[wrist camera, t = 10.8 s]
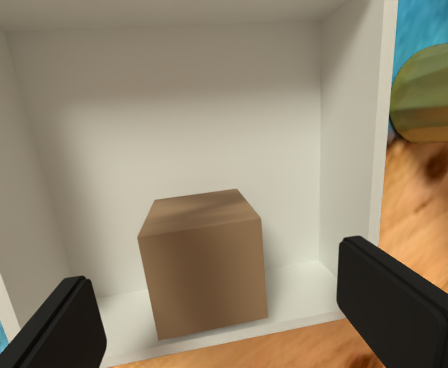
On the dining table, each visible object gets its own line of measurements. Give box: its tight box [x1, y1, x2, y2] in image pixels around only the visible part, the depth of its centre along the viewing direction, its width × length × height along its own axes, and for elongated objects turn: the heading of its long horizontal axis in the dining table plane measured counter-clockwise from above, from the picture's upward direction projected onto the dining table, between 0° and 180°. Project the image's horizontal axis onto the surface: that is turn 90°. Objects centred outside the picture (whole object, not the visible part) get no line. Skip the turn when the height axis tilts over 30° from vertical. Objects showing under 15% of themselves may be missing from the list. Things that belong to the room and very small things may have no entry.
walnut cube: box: [137, 189, 268, 341], centre depth 12 cm, size 5×5×5 cm
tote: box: [0, 0, 398, 368], centre depth 12 cm, size 17×16×5 cm
